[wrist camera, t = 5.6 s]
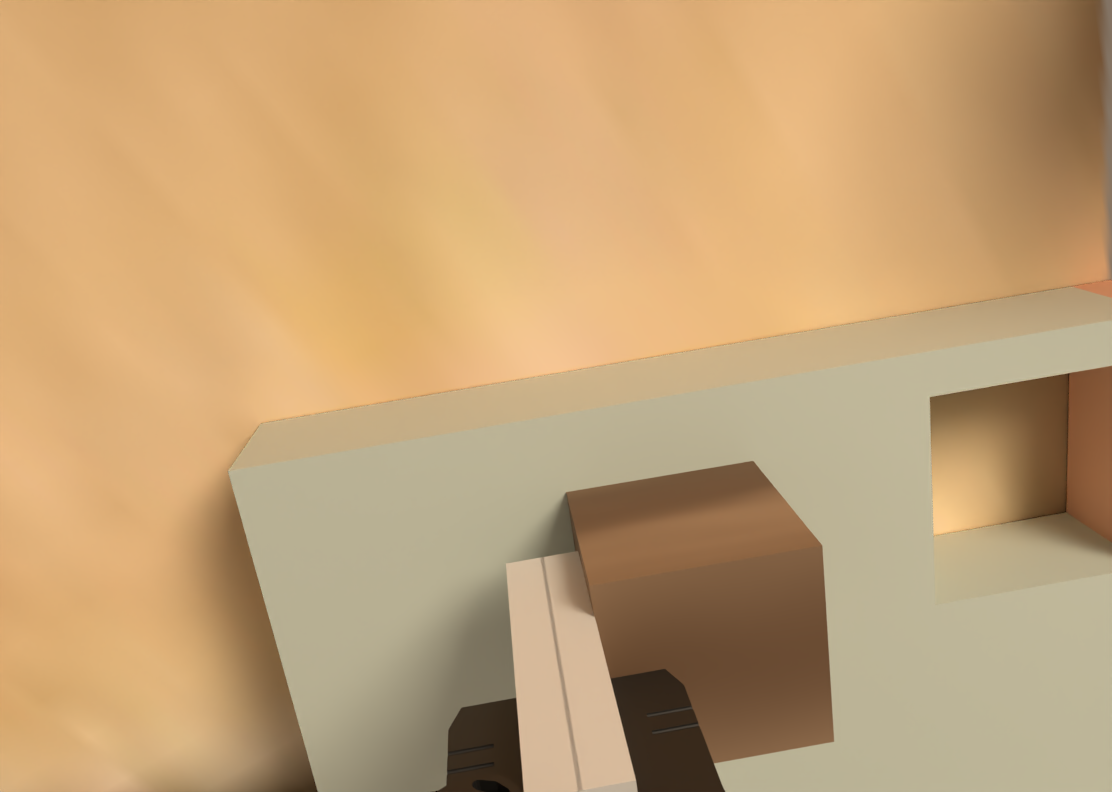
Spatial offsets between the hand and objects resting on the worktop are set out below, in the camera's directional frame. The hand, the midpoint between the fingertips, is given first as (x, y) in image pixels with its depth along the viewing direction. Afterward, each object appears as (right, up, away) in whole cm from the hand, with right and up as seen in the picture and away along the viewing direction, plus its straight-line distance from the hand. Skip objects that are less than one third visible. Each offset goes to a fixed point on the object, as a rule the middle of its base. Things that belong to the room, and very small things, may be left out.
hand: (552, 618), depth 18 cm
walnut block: (+2, +1, +2) cm, 3 cm away
